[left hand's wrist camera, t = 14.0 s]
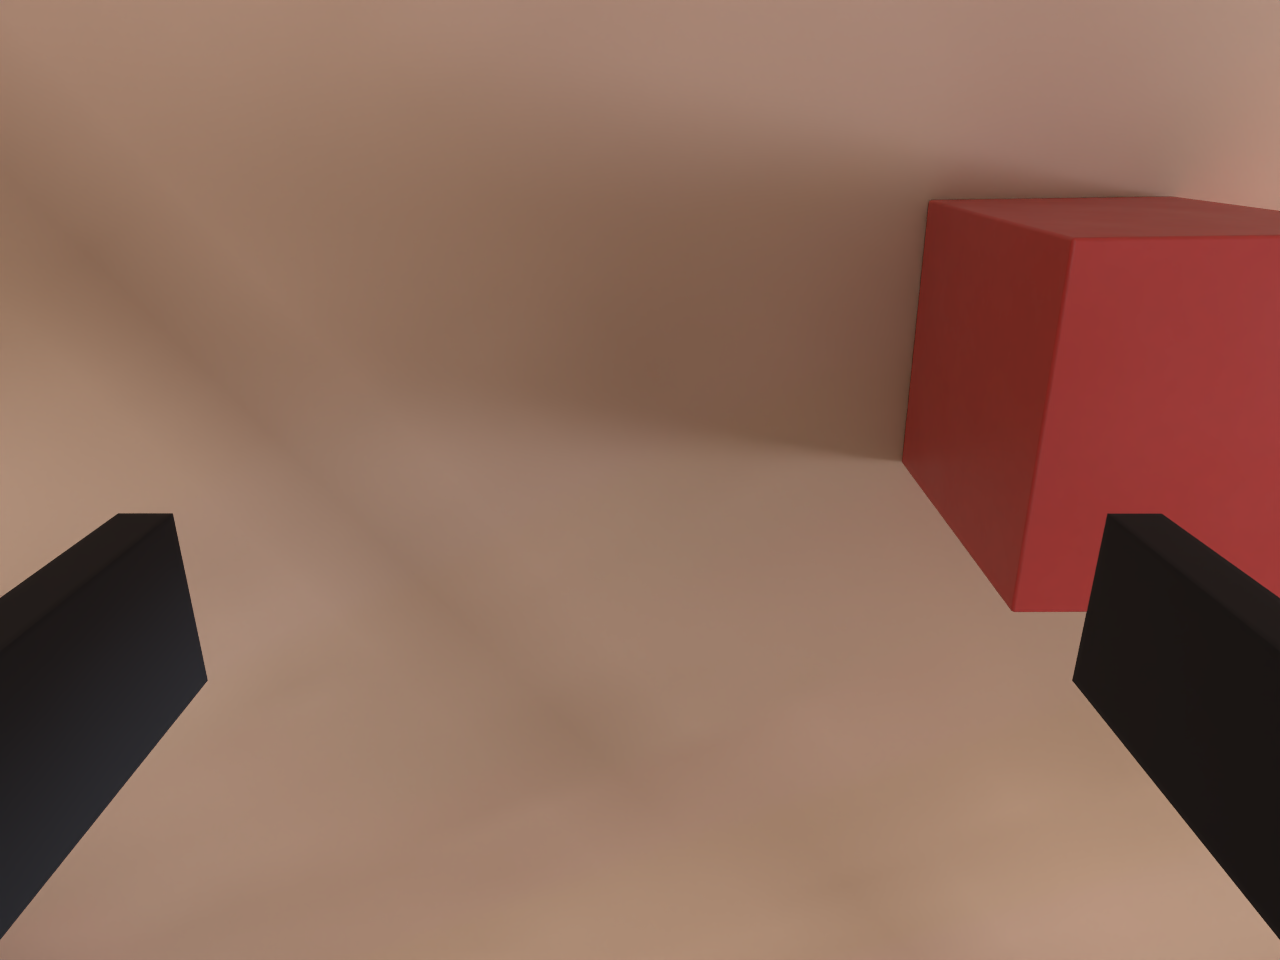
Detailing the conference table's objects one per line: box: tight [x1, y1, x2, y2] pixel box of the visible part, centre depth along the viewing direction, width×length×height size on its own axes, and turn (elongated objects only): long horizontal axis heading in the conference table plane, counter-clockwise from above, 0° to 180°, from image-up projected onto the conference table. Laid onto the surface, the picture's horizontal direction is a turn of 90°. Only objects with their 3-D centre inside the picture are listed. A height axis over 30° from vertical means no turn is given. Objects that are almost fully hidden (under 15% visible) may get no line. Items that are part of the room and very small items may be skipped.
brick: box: [902, 197, 1280, 612], centre depth 23 cm, size 7×8×10 cm
